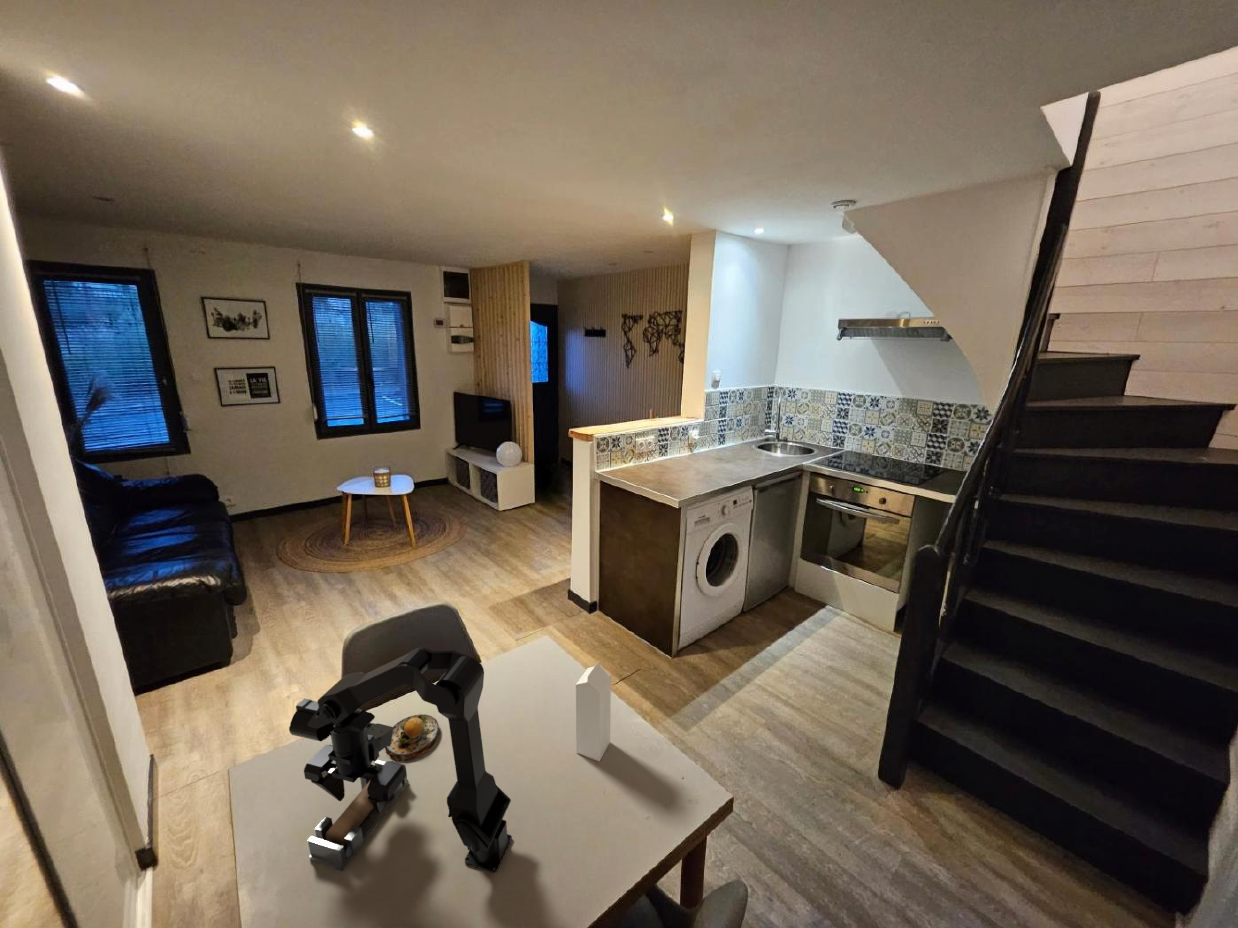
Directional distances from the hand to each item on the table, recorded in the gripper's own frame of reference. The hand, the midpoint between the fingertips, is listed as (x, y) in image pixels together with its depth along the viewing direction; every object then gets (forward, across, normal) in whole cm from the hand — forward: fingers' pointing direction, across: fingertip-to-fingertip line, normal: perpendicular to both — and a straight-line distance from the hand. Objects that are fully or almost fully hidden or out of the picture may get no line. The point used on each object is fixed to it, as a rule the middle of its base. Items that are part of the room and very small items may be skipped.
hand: (361, 804), depth 93 cm
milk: (+4, -39, -28) cm, 48 cm away
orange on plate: (+4, +3, -19) cm, 20 cm away
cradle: (+4, 0, 0) cm, 4 cm away
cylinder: (+2, 0, 0) cm, 2 cm away
